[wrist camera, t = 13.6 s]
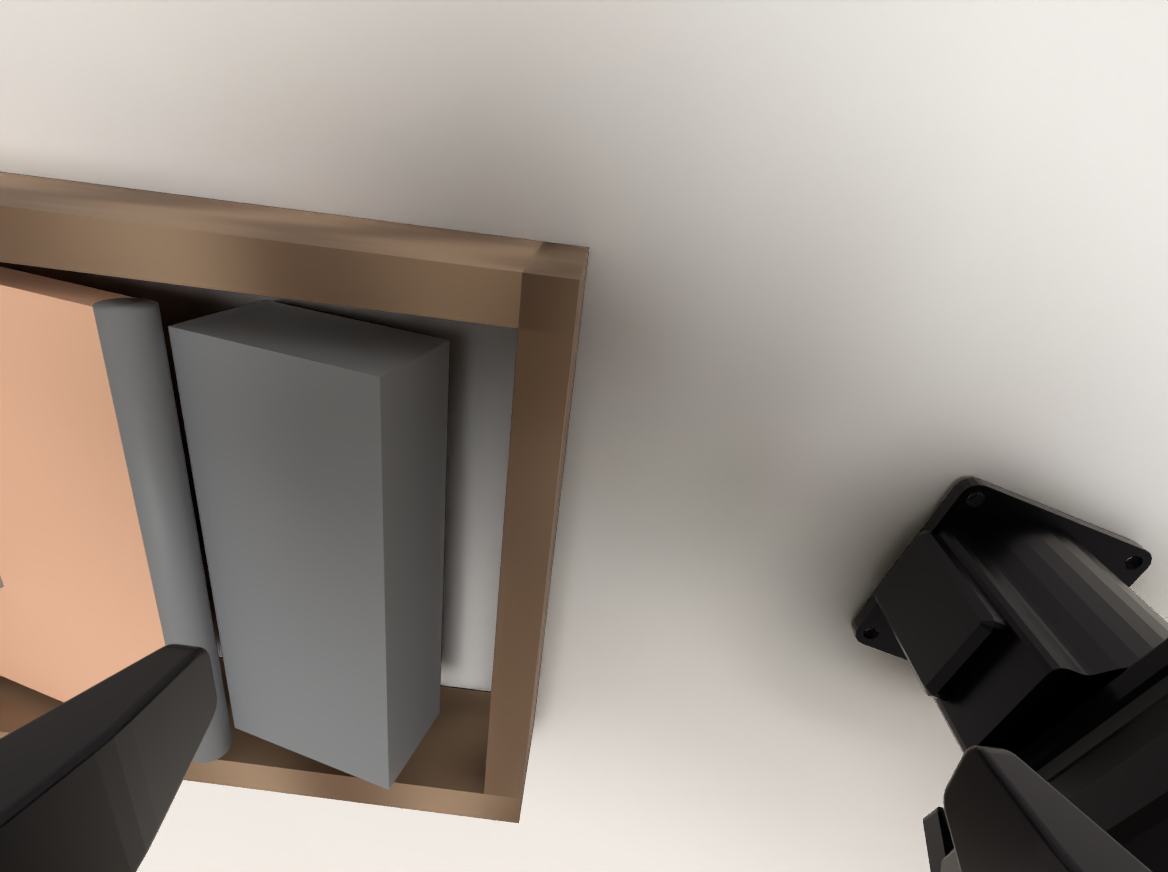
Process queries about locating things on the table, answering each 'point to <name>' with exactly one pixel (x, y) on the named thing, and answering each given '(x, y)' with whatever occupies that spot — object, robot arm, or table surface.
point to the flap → (227, 512)
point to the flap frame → (385, 283)
